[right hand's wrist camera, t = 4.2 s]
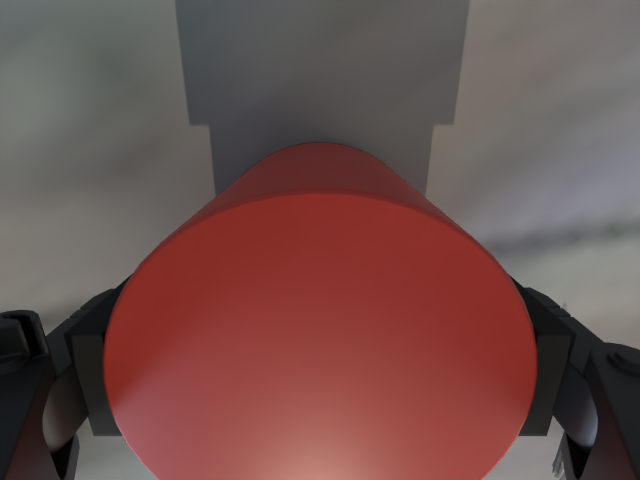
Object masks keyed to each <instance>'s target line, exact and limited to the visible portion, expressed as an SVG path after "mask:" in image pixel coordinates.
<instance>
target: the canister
mask: <svg viewBox="0 0 640 480" xmlns="http://www.w3.org/2000/svg"><path fill="white" fill-rule="evenodd" d="M537 374H538V372H537V346H536V341H535V335H534V330H533V324H532V322H531V319H530V316H529V313H528V311H527V308H526V305H525V302H524V300H523V298H522V296H521V295H520V293H519V291H518V289H517V288H516V286H515V284H514V282H513V281H512V279H511V277H510V276H509V275H508V274H507V272H506V271H505V270H504V269H503V267H502V266H501V265H500V264H499V262H498V261H497V260H496V259H495V258H494V256H493V255H492V254H491V253H489V252H488V251H487V250H486V249H485V248H484V247H483V246H482V245H481V244H479V243H478V242H477V241H476V240H475V239H474V238H473V237H472V236H471V235H469V234H468V233H467V232H466V231H465V230H463V229H462V228H461V227H460V226H459V225H457V224H456V223H455V222H454V221H453V220H451V219H450V218H449V217H448V216H446V215H445V214H444V213H443V212H442V211H440V210H439V209H438V208H437V207H436V206H434V205H433V204H432V203H431V202H430V201H428V200H427V199H426V198H425V197H424V196H422V195H421V194H420V193H419V192H418V191H416V190H415V189H414V188H413V187H412V186H410V185H409V184H408V183H407V182H406V181H404V180H403V179H402V178H401V177H400V176H398V175H397V174H396V173H395V172H394V171H392V170H391V169H390V168H389V167H388V166H386V165H385V164H384V163H382V162H381V161H379V160H378V159H376V158H375V157H373V156H371V155H369V154H367V153H365V152H363V151H361V150H358V149H355V148H352V147H349V146H346V145H340V144H335V143H320V142H316V143H305V144H300V145H295V146H291V147H287V148H285V149H282V150H280V151H277V152H275V153H273V154H271V155H269V156H267V157H266V158H264V159H262V160H261V161H259V162H258V163H257V164H255V165H254V166H253V167H251V168H250V169H249V170H248V171H247V172H245V173H244V174H243V175H242V176H241V177H239V178H238V179H237V180H236V181H235V182H233V183H232V184H231V185H230V186H229V187H227V188H226V189H225V190H224V191H223V192H221V193H220V194H219V195H218V196H217V197H215V198H214V199H213V200H212V201H211V202H209V203H208V204H207V205H206V206H205V207H203V208H202V209H201V210H200V211H199V212H197V213H196V214H195V215H194V216H192V217H191V218H190V219H189V220H188V221H186V222H185V223H184V224H183V225H182V226H180V227H179V228H178V229H177V230H176V231H174V232H173V233H172V234H171V235H170V236H168V237H167V238H166V239H165V240H164V241H162V242H161V243H160V244H159V245H158V246H157V247H156V248H155V249H154V250H153V251H152V252H151V253H150V254H149V255H148V256H147V257H146V258H145V259H144V260H143V261H142V262H141V263H140V265H139V266H138V268H137V269H136V270H135V272H134V273H133V274H132V276H131V277H130V279H129V280H128V281H127V283H126V284H125V286H124V288H123V290H122V292H121V294H120V296H119V298H118V300H117V302H116V304H115V306H114V308H113V311H112V314H111V317H110V321H109V324H108V327H107V331H106V334H105V342H104V351H103V379H104V386H105V390H106V395H107V400H108V404H109V407H110V409H111V412H112V414H113V417H114V420H115V422H116V425H117V427H118V428H119V430H120V432H121V434H122V436H123V437H124V439H125V441H126V443H127V444H128V446H129V447H130V448H131V450H132V451H133V452H134V454H135V455H136V456H137V458H138V459H139V460H140V462H141V463H142V464H143V465H144V466H145V467H146V468H147V469H148V470H149V471H150V472H151V473H152V474H153V475H154V476H155V477H156V478H157V479H158V480H482V479H483V478H484V477H485V476H486V475H487V474H489V473H490V472H491V471H492V469H493V468H494V467H495V466H496V465H497V464H498V463H499V462H500V460H501V459H502V458H503V457H504V456H505V455H506V453H507V452H508V450H509V449H510V447H511V446H512V444H513V443H514V441H515V440H516V438H517V437H518V435H519V433H520V431H521V429H522V427H523V425H524V423H525V421H526V419H527V416H528V413H529V410H530V407H531V404H532V401H533V398H534V393H535V387H536V380H537Z"/></svg>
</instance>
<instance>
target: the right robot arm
mask: <svg viewBox="0 0 640 480" xmlns="http://www.w3.org/2000/svg"><path fill="white" fill-rule="evenodd" d="M508 275H509V274H508ZM131 276H132V275H130V276H129V277H128V278H127V279H126V280H125V281H124V282H122V283H121V284H120V285H119V286H118V287H117V288H116V289H109V290H107V291H105V292H103V293H101V294H99V295H97V296H95V297H93V298H92V299H90V300H89V301H88V302H87V303H86V304H84V305H83V306H82V307H81V309H80V310H77V311H76V312H75V313H73V314H72V315H71V316H70V319H66V320H65V321H64V322H63V323H61V324H60V325H59V326H58V327H56V328H55V329H54V330H53V331H52V332H50V333H49V334H48V335H47V336H46V337H45V333H44V330H43V327H42V324H41V321H40V318H39V315H38V314H37V313H35V312H34V311H30V310H15V311H7V312H3V313H0V480H74V477H75V471H76V465H77V460H78V454H79V448H80V447H79V440H78V436H77V433H76V431H77V430H78V429H79V427H80V426H81V425H82V423H83V422H84V421H85V419H86V418H87V417H88V418H89V422H90V425H91V428H92V432H93V435H94V436H122V434H121V432H120V430H119V428H118V427H117V425H116V422H115V420H114V417H113V414H112V412H111V409H110V407H109V404H108V400H107V395H106V390H105V386H104V379H103V351H104V342H105V334H106V331H107V327H108V324H109V321H110V317H111V314H112V311H113V308H114V306H115V304H116V302H117V300H118V298H119V296H120V294H121V292H122V290H123V288H124V286H125V284H126V283H127V281H128V280H129V279H130V277H131ZM509 276H510V275H509ZM510 277H511V276H510ZM511 279H512V281H513V282H514V284H515V286H516V288H517V289H518V291H519V293H520V295H521V296H522V298H523V300H524V302H525V305H526V308H527V311H528V313H529V316H530V319H531V322H532V324H533V330H534V335H535V341H536V346H537V372H538V374H537V380H536V387H535V393H534V398H533V401H532V404H531V407H530V410H529V413H528V416H527V419H526V421H525V423H524V425H523V427H522V429H521V431H520V433H519V435H518V436H547V433H548V429H549V426H550V423H551V419H552V416H554V417H555V418H556V420H557V421H558V422H559V424H560V425H561V426H562V427H563V429H564V433H563V436H562V440H561V443H560V446H559V449H558V452H557V455H556V458H555V461H554V465H553V472H552V473H555V474H559V471H560V468H561V466H562V465H564V470H565V476H566V480H640V350H638V349H636V348H632V347H629V346H625V345H622V344H615V343H604V342H603V341H602V340H601V339H599V338H598V337H597V336H596V335H595V334H593V333H592V332H591V331H590V330H588V329H587V328H586V327H585V326H584V325H582V324H581V323H580V322H579V321H577V320H576V319H575V318H574V317H571V315H570V314H569V313H568V312H566V311H565V310H564V309H563V308H560V306H559V305H558V304H557V303H555V302H554V301H553V300H552V299H550V298H549V297H548V296H546V295H544V294H542V293H540V292H538V291H536V290H534V289H532V288H524V287H522V286H521V285H520V284H519V283H518V282H517V281H516V280H514V279H513V278H512V277H511Z"/></svg>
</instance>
